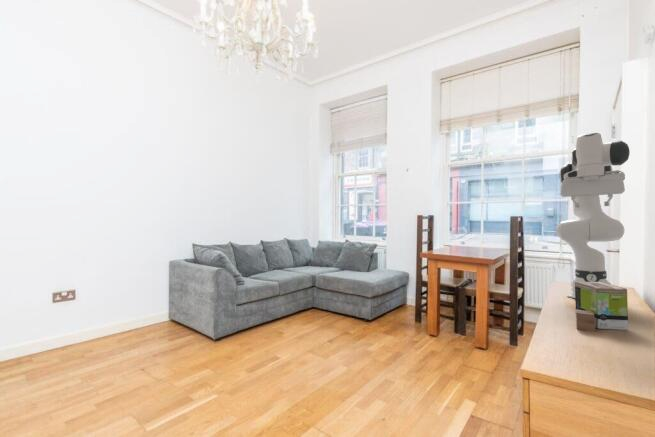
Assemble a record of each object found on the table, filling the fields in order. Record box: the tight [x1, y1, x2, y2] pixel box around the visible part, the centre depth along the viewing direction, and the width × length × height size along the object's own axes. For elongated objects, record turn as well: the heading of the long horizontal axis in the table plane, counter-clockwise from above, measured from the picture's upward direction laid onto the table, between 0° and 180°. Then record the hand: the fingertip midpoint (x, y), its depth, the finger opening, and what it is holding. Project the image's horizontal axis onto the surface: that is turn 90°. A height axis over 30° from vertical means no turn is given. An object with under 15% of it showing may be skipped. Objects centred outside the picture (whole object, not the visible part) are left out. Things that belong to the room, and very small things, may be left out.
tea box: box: [574, 282, 629, 331], centre depth 124 cm, size 15×10×15 cm
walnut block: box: [575, 309, 596, 332], centre depth 118 cm, size 5×5×6 cm
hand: (591, 206), depth 133 cm, fingers open, 8 cm apart
